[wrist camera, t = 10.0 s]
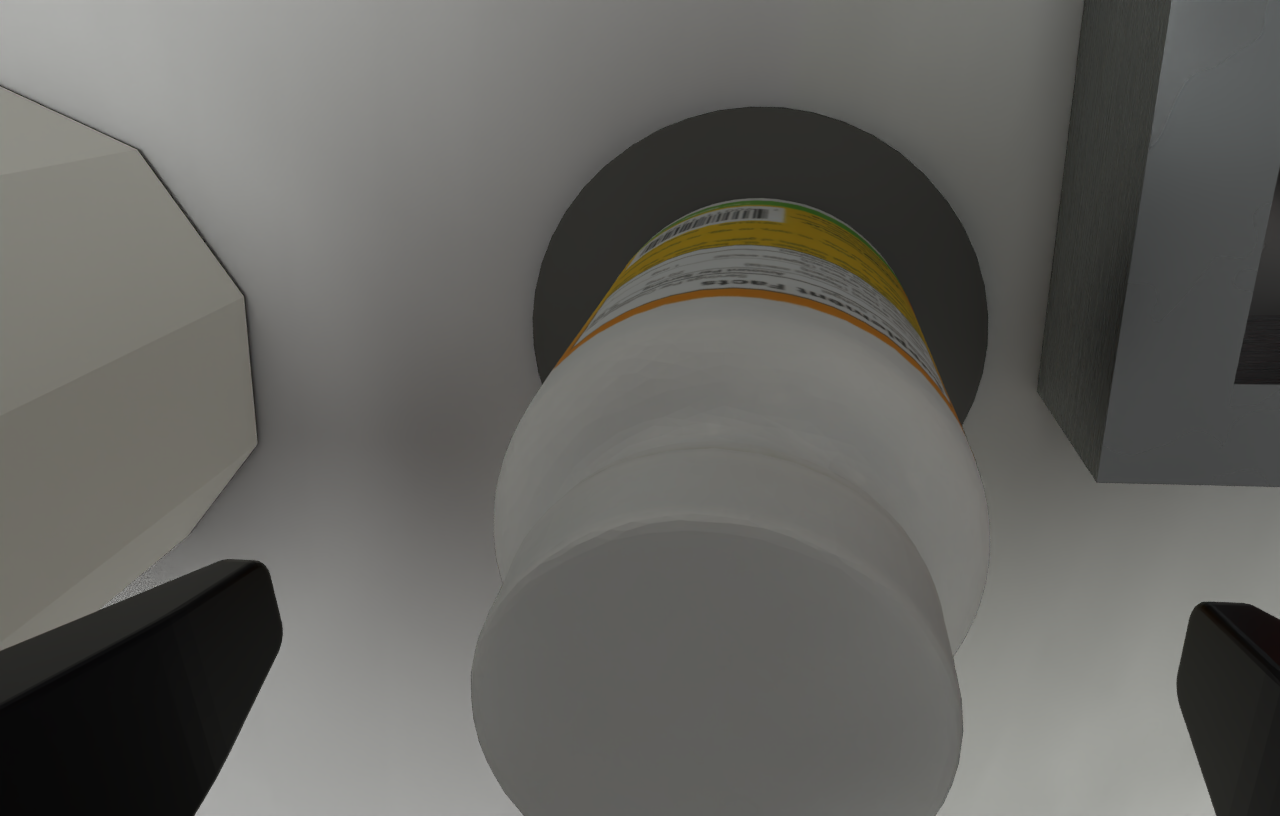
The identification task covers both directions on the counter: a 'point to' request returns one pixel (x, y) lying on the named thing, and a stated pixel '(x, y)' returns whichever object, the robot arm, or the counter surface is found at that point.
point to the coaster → (774, 169)
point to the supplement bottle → (735, 541)
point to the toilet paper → (104, 370)
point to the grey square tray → (1170, 246)
